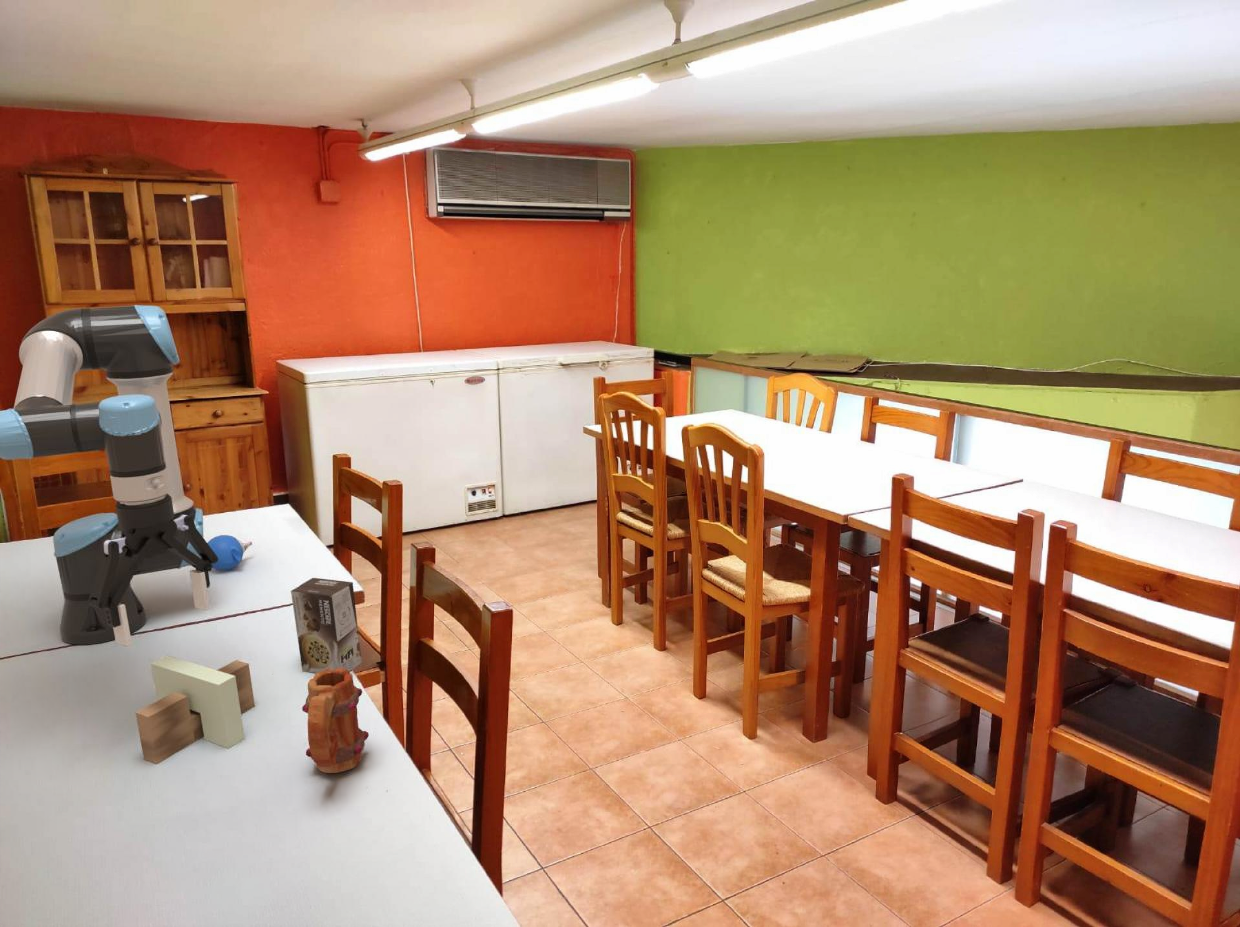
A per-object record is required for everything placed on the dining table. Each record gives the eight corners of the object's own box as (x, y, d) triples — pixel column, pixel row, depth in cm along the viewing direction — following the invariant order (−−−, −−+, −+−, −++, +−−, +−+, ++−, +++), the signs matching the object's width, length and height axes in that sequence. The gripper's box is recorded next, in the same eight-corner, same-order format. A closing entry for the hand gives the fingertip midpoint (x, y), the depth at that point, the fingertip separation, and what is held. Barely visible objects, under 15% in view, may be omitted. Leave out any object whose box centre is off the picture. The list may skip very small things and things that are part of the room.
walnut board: (156, 763, 127) (148, 716, 125) (143, 758, 129) (135, 712, 126) (254, 706, 143) (248, 663, 141) (242, 702, 144) (236, 659, 142)
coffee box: (363, 661, 157) (354, 581, 153) (341, 678, 151) (332, 595, 147) (322, 655, 160) (313, 576, 156) (299, 671, 154) (289, 589, 150)
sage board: (161, 724, 138) (150, 663, 135) (177, 715, 140) (167, 655, 138) (228, 748, 131) (218, 684, 128) (244, 738, 133) (235, 675, 131)
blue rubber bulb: (269, 563, 207) (264, 531, 205) (224, 579, 198) (219, 545, 195) (239, 554, 213) (235, 523, 211) (195, 570, 204) (190, 537, 202)
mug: (320, 746, 131) (309, 659, 127) (373, 743, 131) (364, 656, 128) (293, 807, 117) (280, 711, 113) (353, 803, 117) (342, 707, 114)
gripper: (75, 526, 116) (102, 665, 121) (229, 479, 137) (246, 599, 143) (43, 518, 119) (71, 654, 125) (198, 473, 140) (216, 591, 146)
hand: (165, 625), depth 134 cm, fingers open, 13 cm apart
